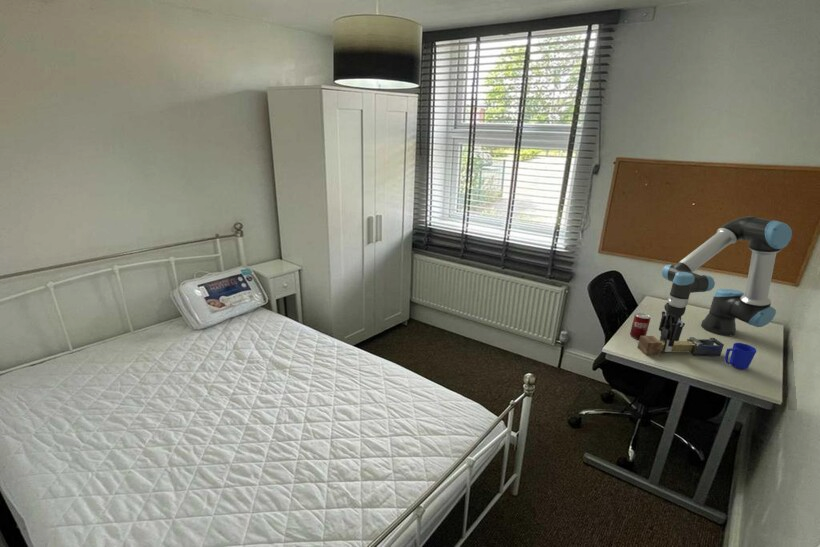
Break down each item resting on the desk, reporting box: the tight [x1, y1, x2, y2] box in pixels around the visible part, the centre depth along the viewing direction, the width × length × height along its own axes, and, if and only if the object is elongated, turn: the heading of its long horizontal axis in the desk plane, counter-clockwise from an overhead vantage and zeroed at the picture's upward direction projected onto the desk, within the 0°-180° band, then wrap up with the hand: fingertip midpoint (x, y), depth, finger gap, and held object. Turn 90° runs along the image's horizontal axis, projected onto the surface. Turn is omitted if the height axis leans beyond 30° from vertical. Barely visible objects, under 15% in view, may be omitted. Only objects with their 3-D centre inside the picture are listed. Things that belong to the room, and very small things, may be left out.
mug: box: [724, 342, 757, 370], centre depth 181 cm, size 8×12×10 cm
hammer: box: [659, 327, 697, 353], centre depth 191 cm, size 24×4×11 cm, turn 91°
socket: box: [637, 335, 662, 356], centre depth 192 cm, size 6×7×7 cm
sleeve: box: [686, 336, 725, 357], centre depth 193 cm, size 13×7×6 cm, turn 91°
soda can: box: [629, 312, 651, 340], centre depth 205 cm, size 7×7×12 cm
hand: (664, 348), depth 193 cm, fingers closed on hammer, 4 cm apart
